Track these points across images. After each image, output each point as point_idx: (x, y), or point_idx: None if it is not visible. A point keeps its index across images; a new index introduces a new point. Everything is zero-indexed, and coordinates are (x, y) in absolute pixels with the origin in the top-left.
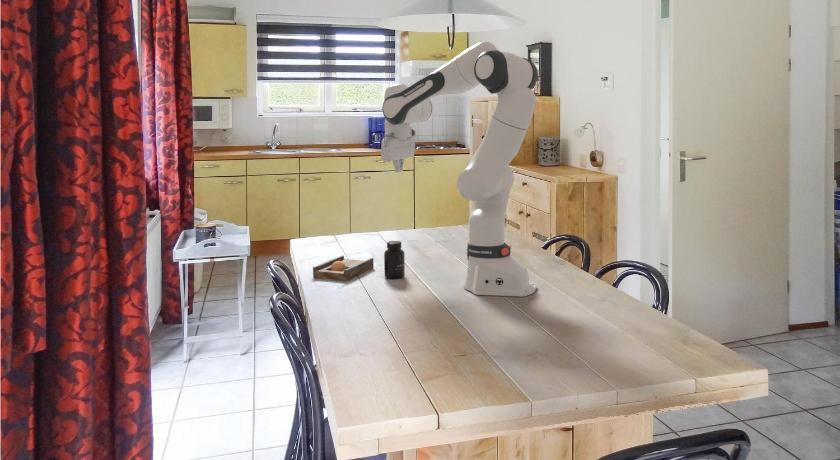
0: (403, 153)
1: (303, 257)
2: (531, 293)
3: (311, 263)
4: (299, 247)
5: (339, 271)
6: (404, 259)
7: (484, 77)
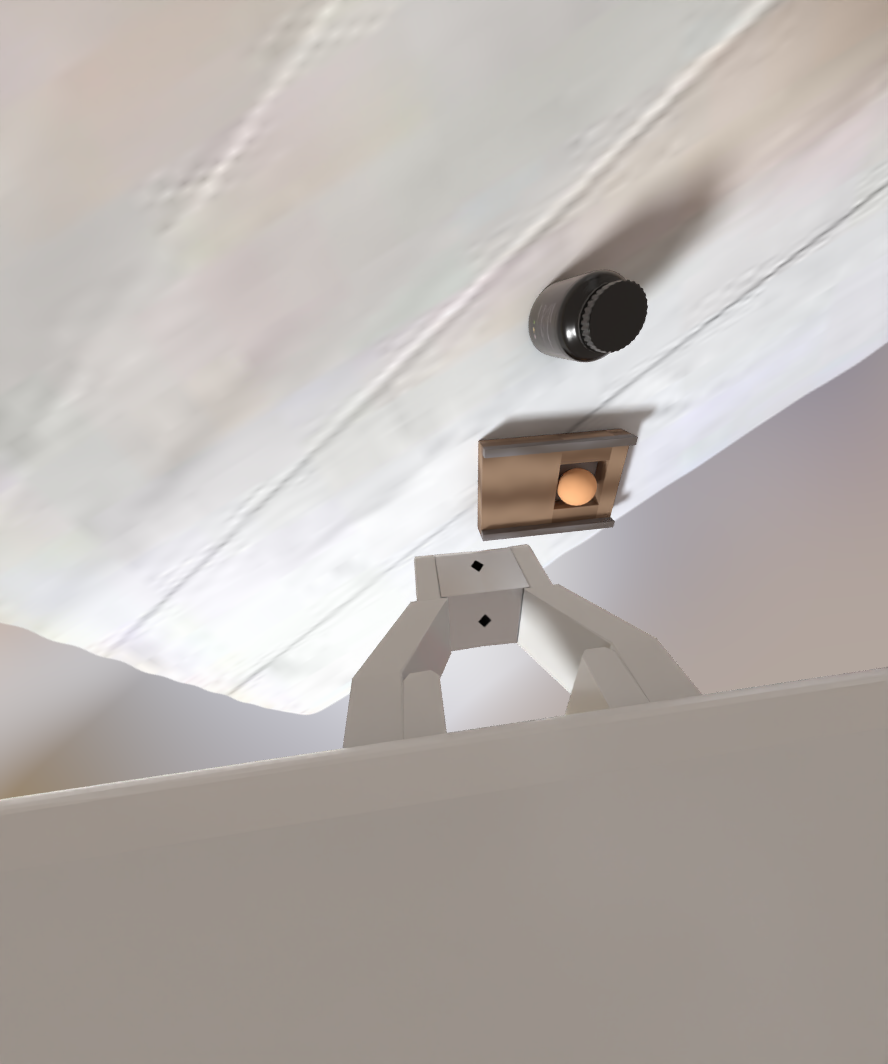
0: (574, 962)
1: None
2: None
3: None
4: None
5: (608, 465)
6: (576, 276)
7: None
